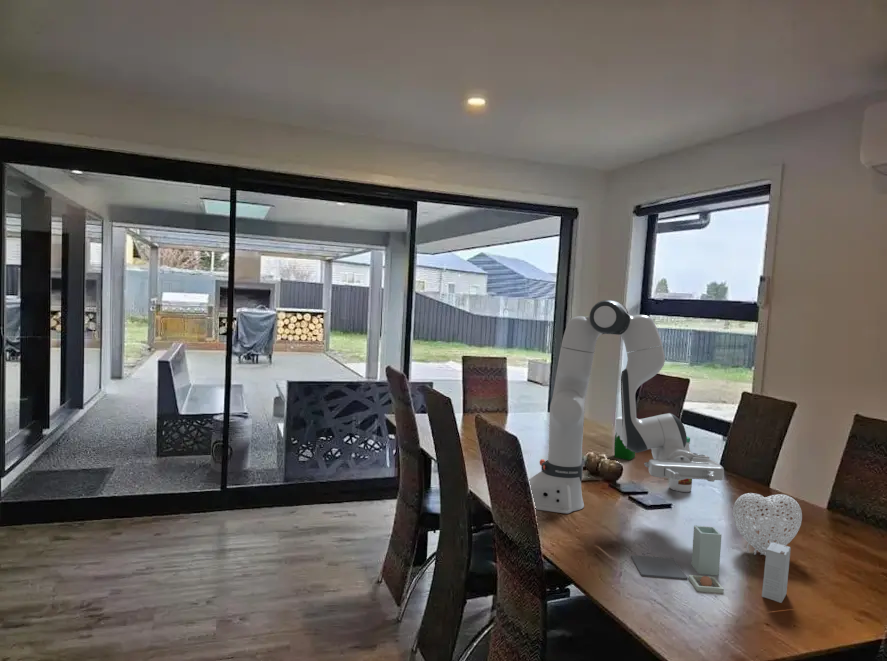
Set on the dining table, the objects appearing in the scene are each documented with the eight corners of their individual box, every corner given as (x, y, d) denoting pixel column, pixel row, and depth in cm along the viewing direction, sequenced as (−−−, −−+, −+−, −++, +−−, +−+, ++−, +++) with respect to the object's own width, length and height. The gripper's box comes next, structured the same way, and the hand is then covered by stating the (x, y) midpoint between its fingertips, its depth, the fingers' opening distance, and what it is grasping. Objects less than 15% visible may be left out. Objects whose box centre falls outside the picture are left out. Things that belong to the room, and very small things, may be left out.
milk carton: (631, 461, 252) (634, 416, 251) (611, 457, 257) (613, 413, 257) (637, 457, 259) (640, 413, 258) (617, 453, 265) (620, 410, 264)
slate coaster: (641, 578, 141) (641, 574, 141) (630, 558, 152) (631, 554, 152) (687, 581, 140) (687, 577, 140) (673, 561, 151) (673, 558, 151)
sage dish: (697, 594, 135) (697, 586, 135) (688, 582, 141) (688, 574, 141) (723, 596, 134) (723, 588, 134) (713, 584, 140) (714, 576, 140)
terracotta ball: (702, 589, 136) (702, 579, 136) (698, 583, 139) (699, 573, 139) (713, 590, 136) (714, 580, 136) (709, 584, 139) (710, 574, 138)
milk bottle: (669, 490, 212) (672, 437, 212) (669, 484, 220) (672, 433, 219) (691, 493, 210) (695, 440, 209) (691, 488, 217) (694, 436, 216)
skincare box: (766, 589, 138) (769, 540, 138) (787, 596, 135) (791, 546, 135) (760, 599, 133) (764, 548, 133) (782, 606, 131) (786, 554, 130)
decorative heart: (785, 548, 164) (789, 489, 163) (808, 565, 153) (813, 502, 152) (722, 545, 164) (726, 486, 163) (741, 561, 153) (745, 499, 152)
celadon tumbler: (698, 575, 144) (700, 533, 144) (691, 566, 149) (694, 525, 149) (718, 577, 144) (721, 534, 143) (711, 568, 149) (713, 527, 148)
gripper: (643, 452, 172) (656, 464, 158) (713, 455, 170) (732, 468, 156) (642, 472, 172) (655, 487, 158) (712, 476, 170) (731, 491, 157)
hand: (694, 477), depth 157 cm, fingers open, 8 cm apart
